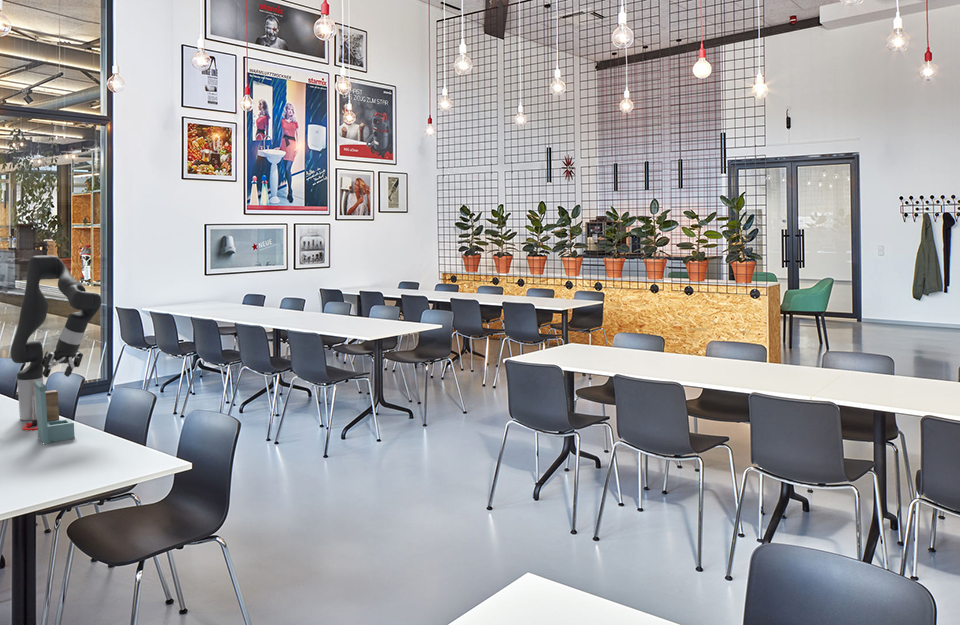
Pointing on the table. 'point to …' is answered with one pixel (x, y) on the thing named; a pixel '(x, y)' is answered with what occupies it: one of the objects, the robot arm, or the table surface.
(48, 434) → the teal holder stand
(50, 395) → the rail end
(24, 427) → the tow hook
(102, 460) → the table surface
